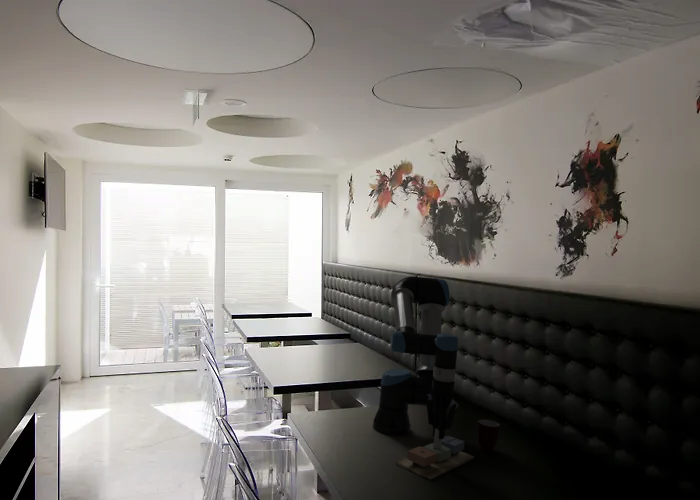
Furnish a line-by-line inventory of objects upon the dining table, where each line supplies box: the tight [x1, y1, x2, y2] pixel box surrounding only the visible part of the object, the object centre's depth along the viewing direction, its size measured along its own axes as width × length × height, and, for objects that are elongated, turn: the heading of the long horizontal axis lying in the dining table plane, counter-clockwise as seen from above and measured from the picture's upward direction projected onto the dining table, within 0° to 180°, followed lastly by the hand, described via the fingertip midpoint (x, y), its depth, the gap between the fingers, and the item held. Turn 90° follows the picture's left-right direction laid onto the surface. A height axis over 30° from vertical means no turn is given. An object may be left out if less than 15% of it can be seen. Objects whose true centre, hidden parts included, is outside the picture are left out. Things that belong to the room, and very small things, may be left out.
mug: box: [476, 418, 501, 452], centre depth 187 cm, size 10×8×10 cm
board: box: [395, 450, 475, 481], centre depth 173 cm, size 14×28×3 cm, turn 137°
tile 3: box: [442, 435, 465, 454], centre depth 180 cm, size 7×7×3 cm
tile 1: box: [406, 445, 437, 467], centre depth 166 cm, size 7×7×3 cm
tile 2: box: [422, 442, 451, 462], centre depth 173 cm, size 7×7×3 cm
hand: (437, 447), depth 173 cm, fingers closed
